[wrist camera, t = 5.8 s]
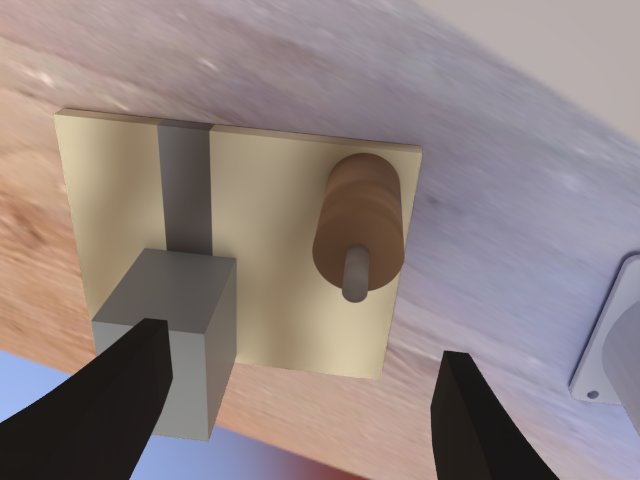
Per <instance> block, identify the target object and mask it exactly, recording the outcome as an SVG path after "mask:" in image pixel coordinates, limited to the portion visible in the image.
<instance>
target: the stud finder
mask: <svg viewBox="0 0 640 480" xmlns="http://www.w3.org/2000/svg"><path fill="white" fill-rule="evenodd" d="M144 318H151V319H161V320H167V321H168V331H169V341H170V351H171V360H172V370H173V380H172V384H171V387H170V390H169V393H168V396H167V399H166V402H165V404H164V407H163V410H162V413H161V415H160V417H159V419H158V422H157V424H156V426H155V428H154V430H153V432H152V435H160V436H168V437H176V438H183V439H192V440H200V441H207V442H208V441H209V439H210V436H211V433H212V429H213V426H214V423H215V420H216V417H217V414H218V411H219V408H220V405H221V402H222V399H223V396H224V393H225V390H226V386H227V383H228V380H229V377H230V374H231V371H232V368H233V365H234V362H235V359H236V356H237V259H236V258H228V257H219V256H210V255H201V254H192V253H184V252H175V251H166V250H157V249H148V248H144V249H143V251H142V252H141V254H140V255H139V256H138V258H137V259H136V260H135V262H134V263H133V264H132V266H131V267H130V269H129V270H128V271H127V273H126V274H125V275H124V277H123V278H122V279H121V281H120V282H119V283H118V285H117V286H116V288H115V289H114V290H113V292H112V293H111V294H110V296H109V297H108V298H107V300H106V301H105V302H104V304H103V305H102V307H101V308H100V309H99V311H98V312H97V313H96V315H95V316H94V317H93V319H92V320H91V325H92V331H93V336H94V342H95V348H96V353H97V356H98V355H100V354H101V353H102V352H103V351H105V350H106V349H107V348H108V347H110V346H111V345H112V344H113V343H114V342H116V341H117V340H118V339H119V338H120V337H122V336H123V335H124V334H125V333H126V332H128V331H129V330H130V329H131V328H133V327H134V326H135V325H136V324H138V323H139V322H140V321H141V320H143V319H144Z"/></svg>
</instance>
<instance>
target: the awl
mask: <svg viewBox="0 0 640 480" xmlns="http://www.w3.org/2000/svg"><path fill="white" fill-rule="evenodd" d="M312 256H313V261H314V264H315V266H316V268H317V270H318V272H319V273H320V274H321V276H322V277H323V278H324V279H325V280H327V281H328V282H329V283H331V284H332V285H334V286H336V287H338V288H340V289H342V295H343V297H344V298H345V299H346V300H347V301H349V302H352V303H359V302H362V301H363V300H365V298H366V297H367V294H368V291H373V290H376V289H379V288H381V287H383V286H385V285H387V284H388V283H389V282H391V281H392V280H393V279H394V278H395V277H396V276H397V274H398V273H399V271H400V270H401V268H402V265H403V262H404V237H403V221H402V205H401V189H400V180H399V176H398V174H397V172H396V170H395V168H394V167H393V166H392V165H391V164H390V163H389V162H388V161H387V160H385V159H384V158H382V157H380V156H378V155H375V154H370V153H357V154H353V155H350V156H347V157H345V158H344V159H342V160H341V161H339V162H338V163H337V164H336V165H335V167H334V168H333V169H332V171H331V173H330V175H329V179H328V183H327V187H326V191H325V195H324V200H323V204H322V208H321V212H320V217H319V221H318V225H317V229H316V234H315V238H314V242H313V247H312Z"/></svg>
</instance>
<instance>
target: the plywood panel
mask: <svg viewBox="0 0 640 480" xmlns="http://www.w3.org/2000/svg"><path fill="white" fill-rule="evenodd" d="M53 116H54V122H55V127H56V133H57V138H58V144H59V150H60V155H61V161H62V167H63V172H64V178H65V184H66V189H67V195H68V201H69V206H70V212H71V218H72V223H73V229H74V235H75V240H76V246H77V252H78V257H79V263H80V269H81V274H82V280H83V286H84V291H85V297H86V303H87V308H88V314H89V319H90V325H91V320H92V319H93V317H94V316H95V315H96V313H97V312H98V311H99V309H100V308H101V307H102V305H103V304H104V302H105V301H106V300H107V298H108V297H109V296H110V294H111V293H112V292H113V290H114V289H115V288H116V286H117V285H118V283H119V282H120V281H121V279H122V278H123V277H124V275H125V274H126V273H127V271H128V270H129V269H130V267H131V266H132V264H133V263H134V262H135V260H136V259H137V258H138V256H139V255H140V254H141V252H142V251H143V249H144V248H148V249H157V250H166V251H175V252H184V253H192V254H201V255H210V256H219V257H228V258H236V259H237V356H236V359H235V362H234V363H242V364H250V365H259V366H267V367H275V368H283V369H292V370H300V371H308V372H317V373H325V374H333V375H341V376H350V377H358V378H366V379H375V380H380V378H381V373H382V368H383V362H384V357H385V352H386V346H387V341H388V336H389V330H390V325H391V320H392V314H393V309H394V304H395V298H396V293H397V288H398V282H399V277H400V272H401V270H400V271H399V273H398V274H397V276H396V277H395V278H394V279H393V280H392V281H391V282H389V283H388V284H387V285H385V286H383V287H381V288H379V289H376V290H373V291H368V294H367V297H366V298H365V300H363V301H362V302H359V303H352V302H349V301H347V300H346V299H345V298H344V297H343V295H342V289H340V288H338V287H336V286H334V285H332V284H331V283H329V282H328V281H327V280H325V279H324V278H323V277H322V276H321V274H320V273H319V272H318V270H317V268H316V266H315V264H314V261H313V256H312V247H313V242H314V238H315V234H316V229H317V225H318V221H319V217H320V212H321V208H322V204H323V200H324V195H325V191H326V187H327V183H328V179H329V175H330V173H331V171H332V169H333V168H334V167H335V165H336V164H337V163H338V162H339V161H341V160H342V159H344V158H345V157H347V156H350V155H353V154H357V153H370V154H375V155H378V156H380V157H382V158H384V159H385V160H387V161H388V162H389V163H390V164H391V165H392V166H393V167H394V168H395V170H396V172H397V174H398V176H399V180H400V189H401V205H402V221H403V237H404V250H405V245H406V240H407V234H408V229H409V224H410V219H411V213H412V208H413V203H414V197H415V192H416V187H417V181H418V176H419V171H420V165H421V160H422V155H423V153H422V148H421V146H415V145H406V144H396V143H387V142H377V141H368V140H358V139H349V138H339V137H330V136H320V135H311V134H301V133H292V132H282V131H273V130H263V129H254V128H244V127H235V126H226V125H216V124H207V123H197V122H188V121H178V120H169V119H159V118H150V117H140V116H131V115H121V114H112V113H102V112H93V111H83V110H74V109H62V110H60V111H58V112H57V113H55V114H53ZM91 331H92V325H91ZM92 336H93V331H92ZM93 342H94V336H93ZM94 346H95V342H94Z"/></svg>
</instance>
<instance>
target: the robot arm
mask: <svg viewBox="0 0 640 480" xmlns="http://www.w3.org/2000/svg"><path fill="white" fill-rule="evenodd" d="M172 380H173V370H172V360H171V351H170V341H169V331H168V321H167V320H161V319H151V318H144V319H143V320H141V321H140V322H139V323H138V324H136V325H135V326H134V327H133V328H131V329H130V330H129V331H128V332H126V333H125V334H124V335H123V336H122V337H120V338H119V339H118V340H117V341H116V342H114V343H113V344H112V345H111V346H110V347H108V348H107V349H106V350H105V351H103V352H102V353H101V354H100V355H98V356H97V357H96V358H95V359H93V360H92V361H91V362H90V363H88V364H87V365H86V366H85V367H83V368H82V369H81V370H79V371H78V372H77V373H75V374H74V375H73V376H71V377H70V378H69V379H67V380H66V381H64V382H63V383H62V384H60V385H59V386H57V387H56V388H55V389H53V390H52V391H51V392H49V393H48V394H46V395H45V396H43V397H42V398H40V399H39V400H37V401H35V402H34V403H33V404H31V405H29V406H28V407H26V408H24V409H23V410H21V411H19V412H18V413H16V414H14V415H13V416H11V417H10V418H8V419H6V420H4V421H3V422H1V423H0V480H129V479H130V477H131V475H132V473H133V471H134V469H135V467H136V464H137V462H138V461H139V459H140V456H141V454H142V452H143V450H144V448H145V446H146V444H147V442H148V440H149V438H150V436H151V434H152V432H153V430H154V428H155V426H156V424H157V422H158V419H159V417H160V415H161V413H162V410H163V407H164V404H165V402H166V399H167V396H168V393H169V390H170V387H171V384H172ZM569 391H570V394H571V396H572V398H574V399H576V400H580V401H588V402H597V403H605V404H613V405H622V406H623V407H624V409H625V410H626V412H627V414H628V416H629V418H630V420H631V422H632V423H633V425H634V427H635V429H636V431H637V433H638V435H639V436H640V255H634V256H631V257H629V258H628V259H626V260H625V262H624V263H623V265H622V268H621V270H620V272H619V274H618V277H617V279H616V281H615V284H614V286H613V288H612V290H611V293H610V295H609V297H608V300H607V302H606V304H605V306H604V309H603V311H602V313H601V316H600V318H599V320H598V322H597V325H596V327H595V329H594V331H593V334H592V336H591V338H590V341H589V343H588V345H587V347H586V350H585V352H584V354H583V357H582V359H581V361H580V363H579V366H578V368H577V370H576V373H575V375H574V377H573V379H572V382H571V384H570V386H569ZM591 391H593V392H591ZM589 392H591V393H589ZM431 431H432V446H433V453H434V459H435V465H436V471H437V477H438V480H560V479H559V478H558V477H557V476H556V475H555V474H554V473H553V472H552V470H551V469H550V468H549V467H548V466H547V465H546V463H545V462H544V461H543V460H542V459H541V457H540V456H539V455H538V454H537V452H536V451H535V450H534V449H533V447H532V446H531V445H530V444H529V442H528V441H527V440H526V438H525V437H524V436H523V434H522V433H521V432H520V430H519V429H518V428H517V426H516V425H515V424H514V422H513V421H512V419H511V418H510V416H509V415H508V414H507V412H506V411H505V409H504V408H503V406H502V405H501V404H500V402H499V401H498V399H497V398H496V396H495V394H494V393H493V391H492V390H491V388H490V387H489V385H488V384H487V382H486V380H485V379H484V377H483V375H482V374H481V372H480V371H479V369H478V367H477V366H476V364H475V362H474V361H473V359H472V357H471V356H470V355H469V353H463V352H454V351H444V353H443V357H442V361H441V365H440V370H439V374H438V378H437V382H436V386H435V391H434V395H433V399H432V403H431Z"/></svg>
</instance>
